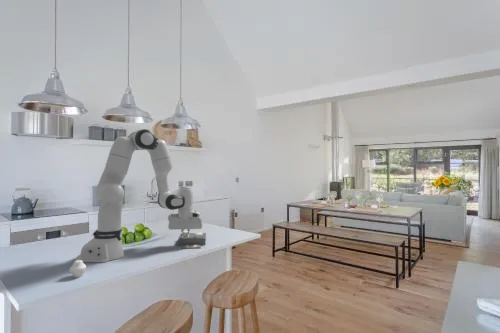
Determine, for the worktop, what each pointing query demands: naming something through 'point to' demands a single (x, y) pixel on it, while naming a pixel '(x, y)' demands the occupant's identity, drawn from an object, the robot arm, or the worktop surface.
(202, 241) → the button board
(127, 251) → the worktop surface
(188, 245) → the pattern card
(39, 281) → the worktop surface
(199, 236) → the button front right
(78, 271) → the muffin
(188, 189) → the robot arm
